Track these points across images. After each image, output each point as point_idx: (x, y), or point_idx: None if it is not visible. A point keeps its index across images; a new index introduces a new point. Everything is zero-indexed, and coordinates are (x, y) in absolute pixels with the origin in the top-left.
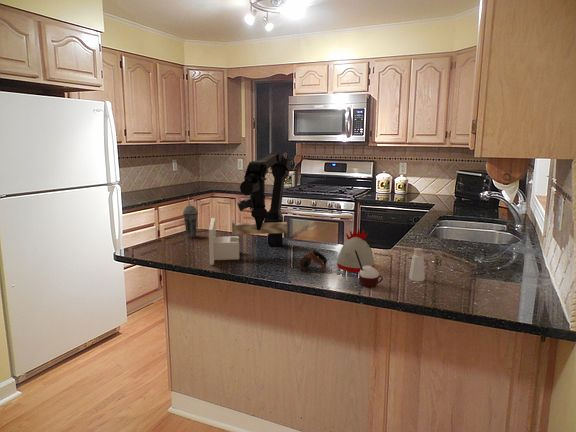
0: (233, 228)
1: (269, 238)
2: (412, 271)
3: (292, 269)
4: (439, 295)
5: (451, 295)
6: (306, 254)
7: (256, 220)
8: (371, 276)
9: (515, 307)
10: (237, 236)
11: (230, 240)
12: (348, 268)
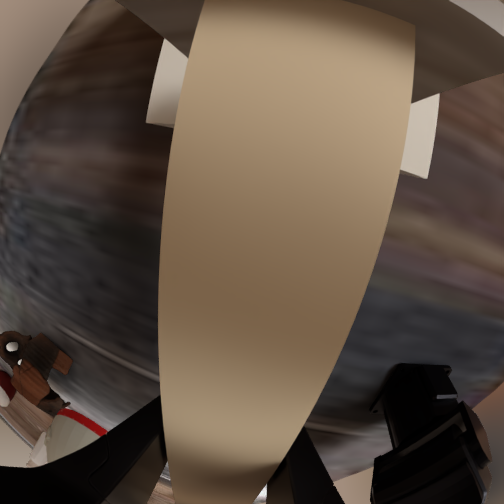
0: (148, 11)
1: (422, 392)
2: (39, 441)
3: (47, 319)
4: (10, 408)
5: (15, 416)
6: (22, 378)
7: (77, 464)
8: None
9: (10, 422)
10: (419, 163)
11: None
12: (57, 413)
